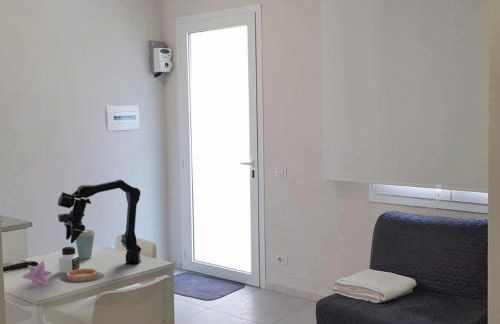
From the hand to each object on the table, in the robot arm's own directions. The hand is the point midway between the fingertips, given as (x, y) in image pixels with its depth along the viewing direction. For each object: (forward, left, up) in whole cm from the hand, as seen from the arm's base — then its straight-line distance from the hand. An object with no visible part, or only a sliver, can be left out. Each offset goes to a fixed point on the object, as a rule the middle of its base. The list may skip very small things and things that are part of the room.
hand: (69, 241), depth 291 cm
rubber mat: (-11, +9, -15) cm, 21 cm away
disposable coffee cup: (+5, -28, -16) cm, 32 cm away
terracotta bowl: (-11, +9, -15) cm, 21 cm away
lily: (+4, +23, -16) cm, 28 cm away
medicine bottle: (0, 0, -15) cm, 15 cm away
